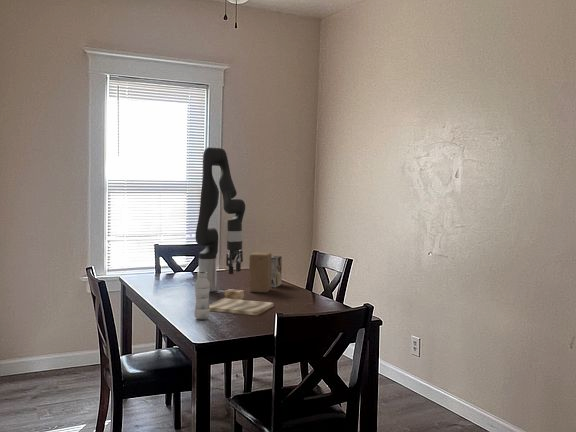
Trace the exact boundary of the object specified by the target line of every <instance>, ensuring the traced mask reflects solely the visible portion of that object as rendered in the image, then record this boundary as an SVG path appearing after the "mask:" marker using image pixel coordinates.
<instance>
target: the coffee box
mask: <svg viewBox="0 0 576 432" xmlns="http://www.w3.org/2000/svg"><path fill="white" fill-rule="evenodd" d="M282 261H283V260H282V256H280V255H272V256H271V288H277V287H280V286H281V285H282Z"/></svg>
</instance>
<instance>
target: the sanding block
mask: <svg viewBox="0 0 576 432" xmlns="http://www.w3.org/2000/svg"><path fill="white" fill-rule="evenodd" d="M224 298H228V299H238V300H245V292H244V290H241V289H233V288H228V289H227V290H224Z"/></svg>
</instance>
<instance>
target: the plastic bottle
mask: <svg viewBox="0 0 576 432" xmlns="http://www.w3.org/2000/svg"><path fill="white" fill-rule="evenodd" d="M197 273H198V277H199V278H198V280H197V279H196V281H195V283H194V291H195V308H194V313H193V314H194V317H195V319H197V320H202V321H203V320H207V319H210V317H211V315H210V314H211V311H210V309H209V304H210V300H209V299H210V293H211V292H210V282H209V281H208V280H207V278H206V277H207V272H199V271H198V272H197Z"/></svg>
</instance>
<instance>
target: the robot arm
mask: <svg viewBox="0 0 576 432" xmlns="http://www.w3.org/2000/svg"><path fill="white" fill-rule="evenodd" d="M227 155H228V154H227V152H226V150H225V149H224V148H222V147H213V146H212V147H211V146H210V147H205V149H204V151H203V154H202V181H201V191H200V198H199V199H200V201H199V202H200V203H199V205H200V206H199V212H198V213H199V214H198V219H197V224H196V230H195V241H196V244H197V245H198V246H200V247H203V246H204V249H202V250H201V251H200V252H199V253H198V272H207V277H206V278H207V280H208V281H209V282H210V292H209V293H212V292H216V291H217V255H218V252H219V232H218V230H217V229H216V228H215V227H209V222H210V220H211V217H212V215H213V214H214V212H215V211H216V210H217V209H216V208H217V207H218V205H219V198H220V195H219V194H220V191H221V194H222V200H223V210H224V212H225V213H226V214H228V215H231V214H232V215H234V217H232V218H229V219H228V220H227V223H226V225H227V227H226V228H227V231H226V232H227V233H226V249H227V250H228V251H229V252H227V253H226V256H225V257H226V262H225V265H226V266H227V267H228V274H229V275H233V274H234V265H235V271H236V272H241V271H242V270H241V268H242V267H241V266H242V265H241V264H242V263H243V262H244V259H243V258H244V256H243V255H244V254H243V253H244V252H243V229H242V228H243V224H242V223H243V219H244V215H245V211H246V203H245V201H244V200H243V199H241V198H240V199H239V198H238V199H237V198H236V199H234V198H235V197H236V196H237V189H236V188H235V187H236V186H235V184H234V182H233V179H232V174H231V169H230V166H229V165H230V164H229V160H228V156H227ZM213 166H214V167H215V166H216V167H218V166H219V167H220V170H221V173H220V177H219V181H218V185H219V188H218V185H217V182H216V181H215V178H214V176H213ZM219 189H220V191H219ZM198 272H197V273H196V281H197V280H198V278H199V277H198Z"/></svg>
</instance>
